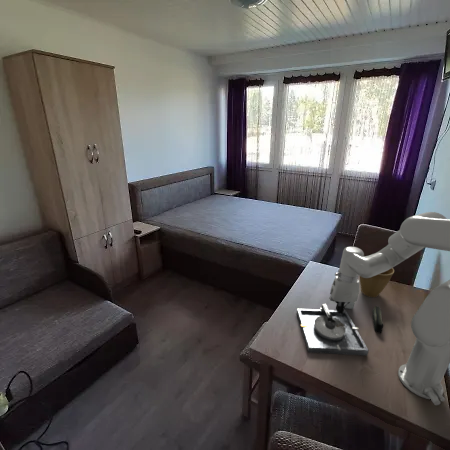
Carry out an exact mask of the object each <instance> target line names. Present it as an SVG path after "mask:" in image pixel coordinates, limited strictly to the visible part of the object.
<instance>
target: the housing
mask: <svg viewBox="0 0 450 450" xmlns="http://www.w3.org/2000/svg"><path fill="white" fill-rule="evenodd" d="M329 311H330V313H331V315H332V317H334V318H336V319H338V320H339V321H341V322H342V323H343V325H344V326H345V329H346V331H345V335H344V337H343V338H342V339H341V340H336V341H333V340H328V339H325V338H323V337H322V336H320V335H319V334H318V333H317V332H316V331H315V329H314V323H315V319H316V318H317V317H319V316H323V314H322V311H321V307H320V309H318V308H317V309H316V308H315V309H314V308H313V309H312V308H296V315H297V320H298V323H299V326H300V330H301V333H302V337H303V339H304V343H305V346H306V349H307V352H308V353H311V354H312V353H313V354H330V355H347V356H348V355H351V356H368V354H369V351H370V350H369V348H368V347H367V345H366V343H365V341H364V339H363V338H362V336H361V335H360V332H359V331H358V330H360V329H359V327H357V326H356V324H354V322H353V320H352V319H351V317H350V316H349V313H348V311H347V310H344V311H343V314H341V313H340V314H339V313H338V311H337V310H336V309H335V310H334V309H329Z"/></svg>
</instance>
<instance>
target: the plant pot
mask: <svg viewBox="0 0 450 450" xmlns="http://www.w3.org/2000/svg"><path fill="white" fill-rule="evenodd" d="M394 274H395V269H394V267H393V268H391V269H389V270H387V271H385V272H383V273H380V274H378V275H376V276H373V277H371V278H363V277H361V276H359V286H360V289H361V292H362V294H363V295H365V296H366V297H369V298H377V297H378V296H379V295H380V294H381V293H382V292H383V291H384V289H385V288H386V286H387V285H388V284H389V282H390V280H391V278H392V276H393V275H394Z"/></svg>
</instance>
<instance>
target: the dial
mask: <svg viewBox="0 0 450 450" xmlns="http://www.w3.org/2000/svg"><path fill="white" fill-rule="evenodd" d="M320 308H321V309H320V310H321V311H322V314H323V316H319V317H317V318H316V319H315V323H314V329H315V331H316V332H317V333H318V334H319V335H320V336H322V337H323V338H325V339H328V340H333V341H336V340H341V339H342V338H343V337H344V335H345V331H346V329H345V326H344V325H343V323H342V322H341V321H339V320H338V319H336V318H334V317H332V315H331V313H330V311H329V310H330V309H329V307H328V305H327V303H322V304H321V307H320Z"/></svg>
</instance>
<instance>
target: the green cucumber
mask: <svg viewBox="0 0 450 450" xmlns="http://www.w3.org/2000/svg"><path fill="white" fill-rule="evenodd" d="M371 312H372V316H371V318H372V325H373V329H374V331H375V333H378V334H382V331H383V328H384V322H383V318H382V309H381V308H380V306H378V305H374V307H373V309H372V310H371Z"/></svg>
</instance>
